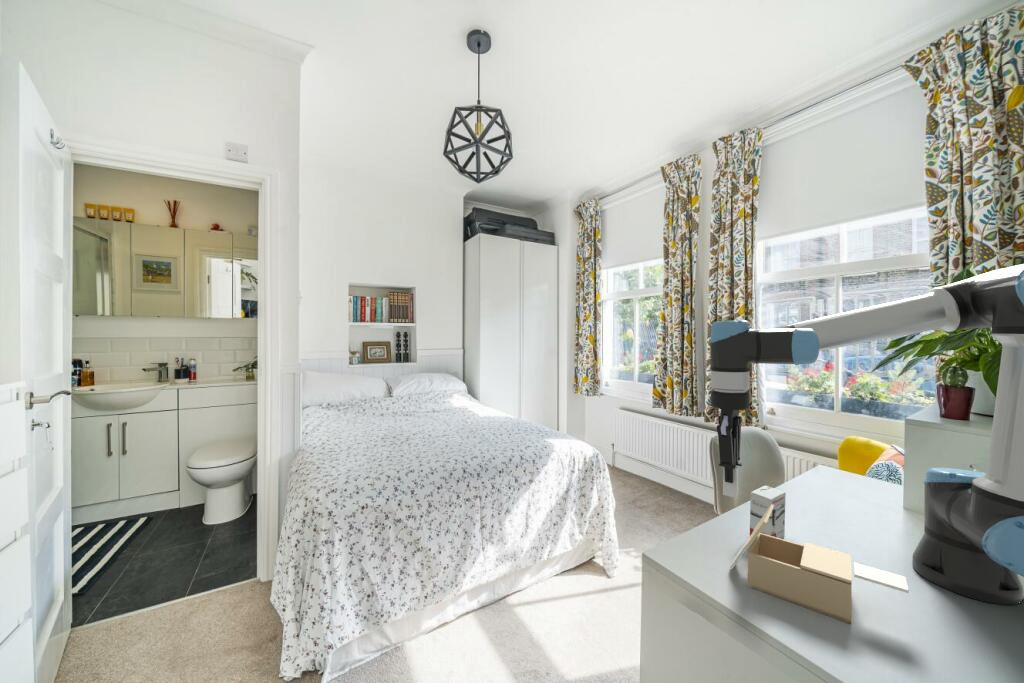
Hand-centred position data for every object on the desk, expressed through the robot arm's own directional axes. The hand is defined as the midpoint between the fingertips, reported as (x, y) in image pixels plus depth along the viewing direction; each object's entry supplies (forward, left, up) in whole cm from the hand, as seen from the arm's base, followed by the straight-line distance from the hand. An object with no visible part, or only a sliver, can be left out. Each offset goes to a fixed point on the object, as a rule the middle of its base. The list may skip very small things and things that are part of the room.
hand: (730, 495), depth 87 cm
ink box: (-4, -20, -16) cm, 26 cm away
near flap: (-21, 0, -9) cm, 22 cm away
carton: (-12, 0, -16) cm, 20 cm away
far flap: (-4, 0, -9) cm, 10 cm away
